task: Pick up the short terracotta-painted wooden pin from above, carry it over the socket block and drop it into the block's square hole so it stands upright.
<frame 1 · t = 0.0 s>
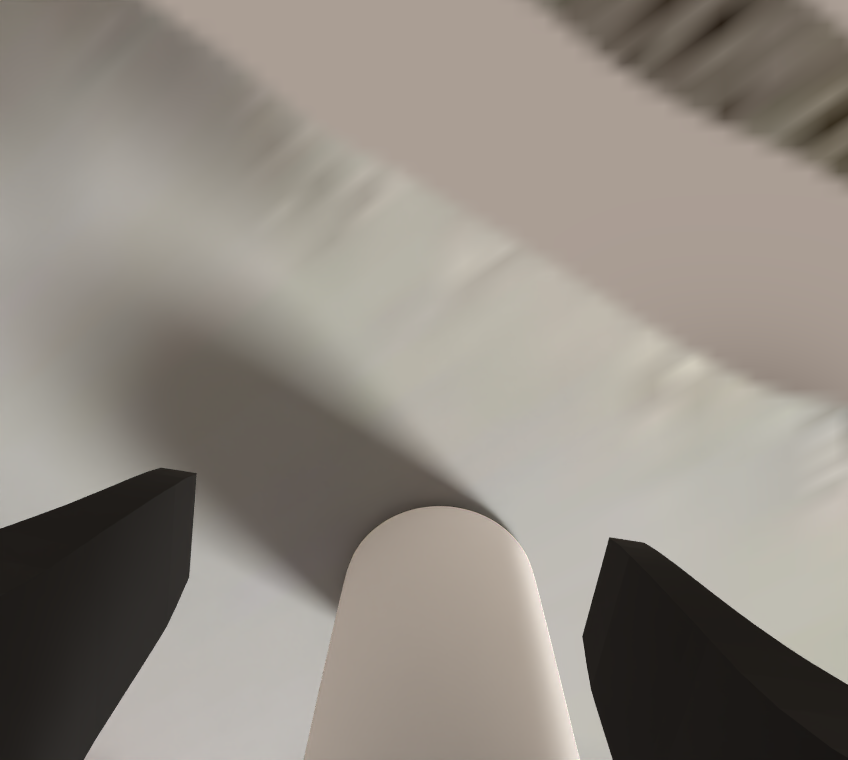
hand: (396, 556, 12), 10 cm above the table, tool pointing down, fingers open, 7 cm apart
can: (439, 581, 24), on the table
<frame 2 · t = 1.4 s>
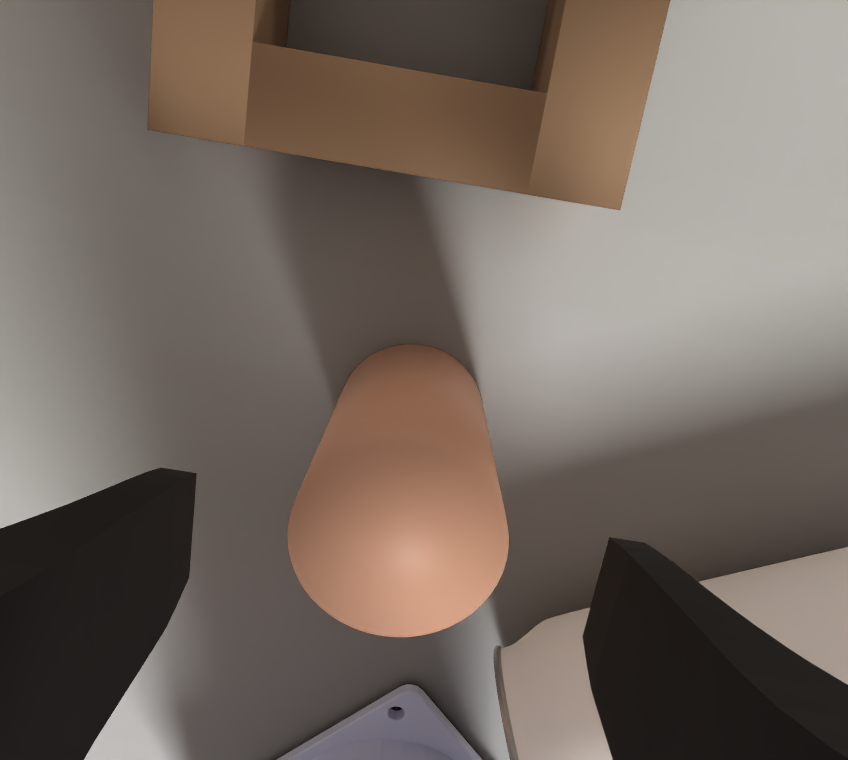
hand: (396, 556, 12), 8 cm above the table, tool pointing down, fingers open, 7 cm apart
pin: (410, 413, 19), on the table
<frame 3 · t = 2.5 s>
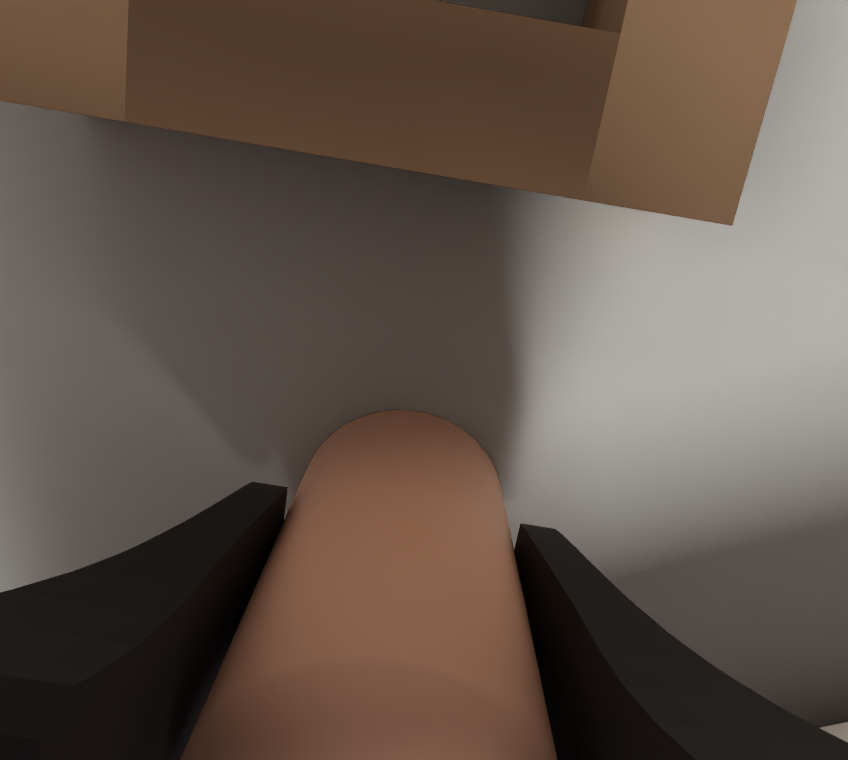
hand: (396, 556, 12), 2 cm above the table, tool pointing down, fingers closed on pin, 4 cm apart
pin: (401, 504, 14), on the table, touching gripper
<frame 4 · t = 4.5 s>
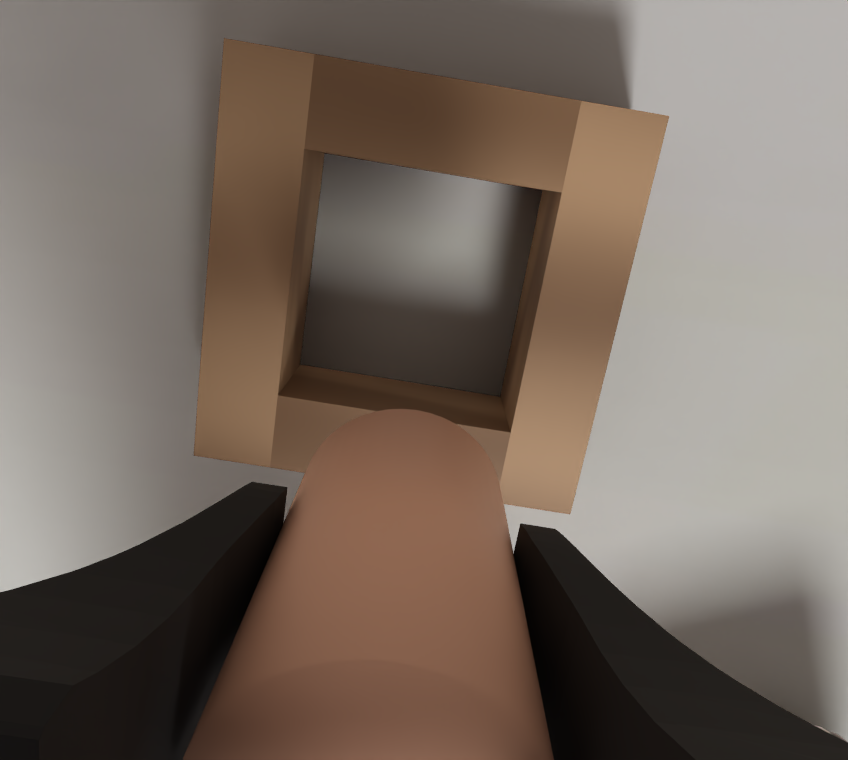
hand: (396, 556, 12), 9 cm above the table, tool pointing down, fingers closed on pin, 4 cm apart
pin: (401, 502, 14), point 7 cm above the table, touching gripper
socket block: (416, 280, 19), on the table
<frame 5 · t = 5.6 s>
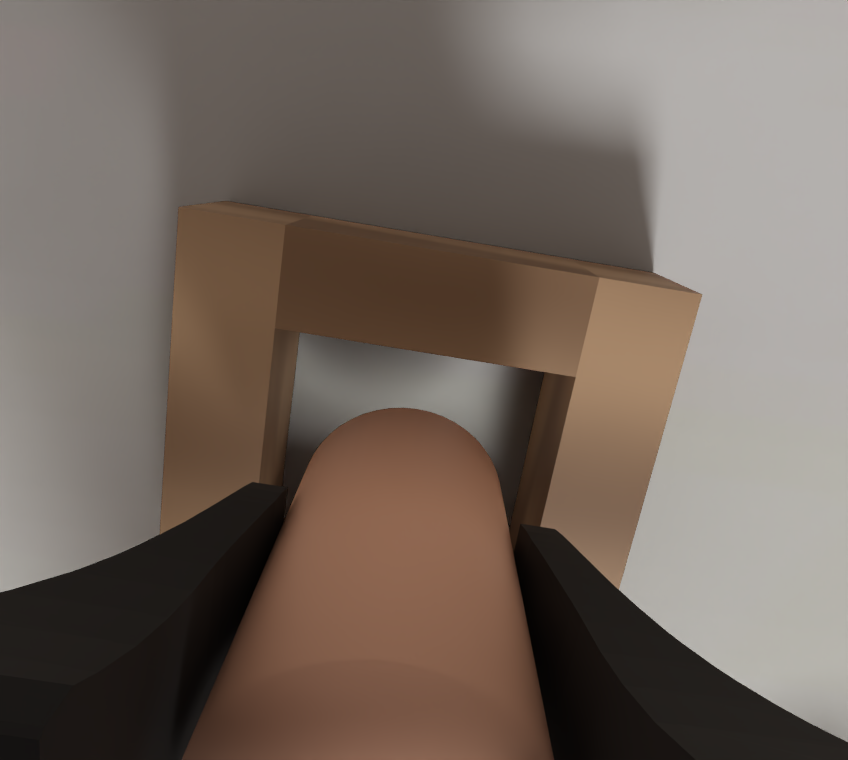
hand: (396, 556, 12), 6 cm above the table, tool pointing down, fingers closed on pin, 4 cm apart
pin: (401, 501, 14), point 4 cm above the table, touching gripper
socket block: (408, 437, 17), on the table
when the fingers open (4 cm above the table, at t = 6.4 s): pin drops 2 cm, resting in socket block.
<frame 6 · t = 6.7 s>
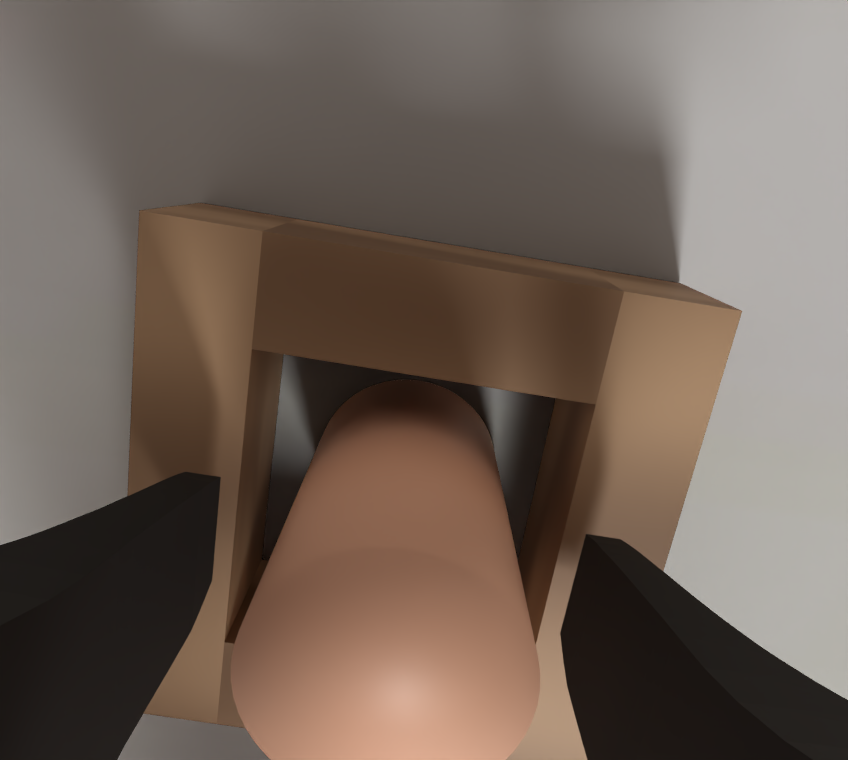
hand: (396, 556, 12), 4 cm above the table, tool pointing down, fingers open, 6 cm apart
pin: (406, 463, 16), resting in socket block
socket block: (405, 464, 16), on the table
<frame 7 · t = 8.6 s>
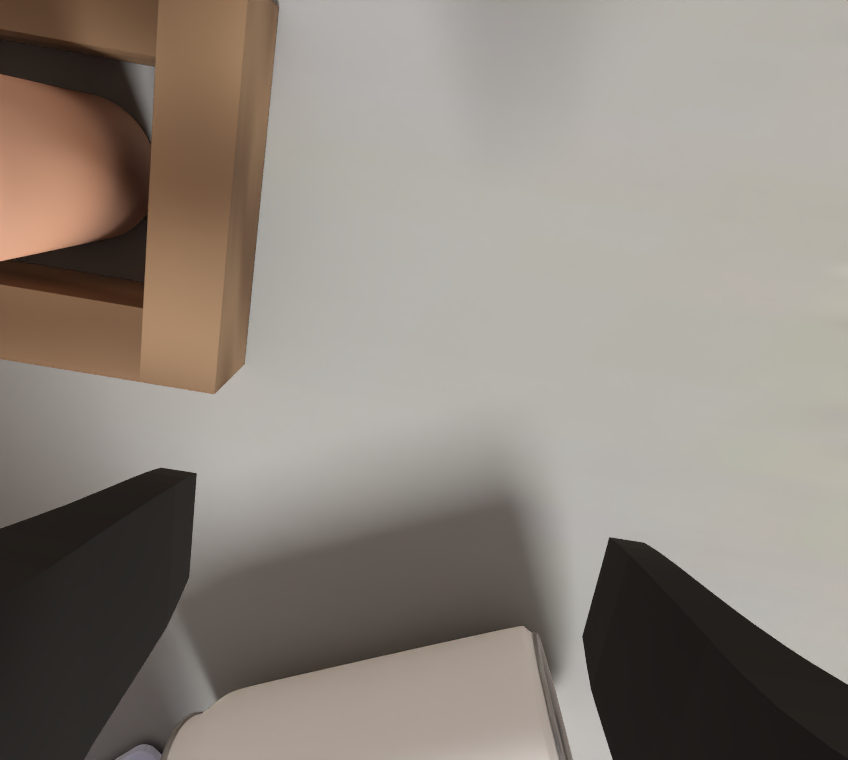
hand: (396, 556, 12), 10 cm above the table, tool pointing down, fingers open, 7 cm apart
pin: (87, 168, 20), resting in socket block
can: (569, 729, 21), point 3 cm above the table
socket block: (86, 168, 20), on the table
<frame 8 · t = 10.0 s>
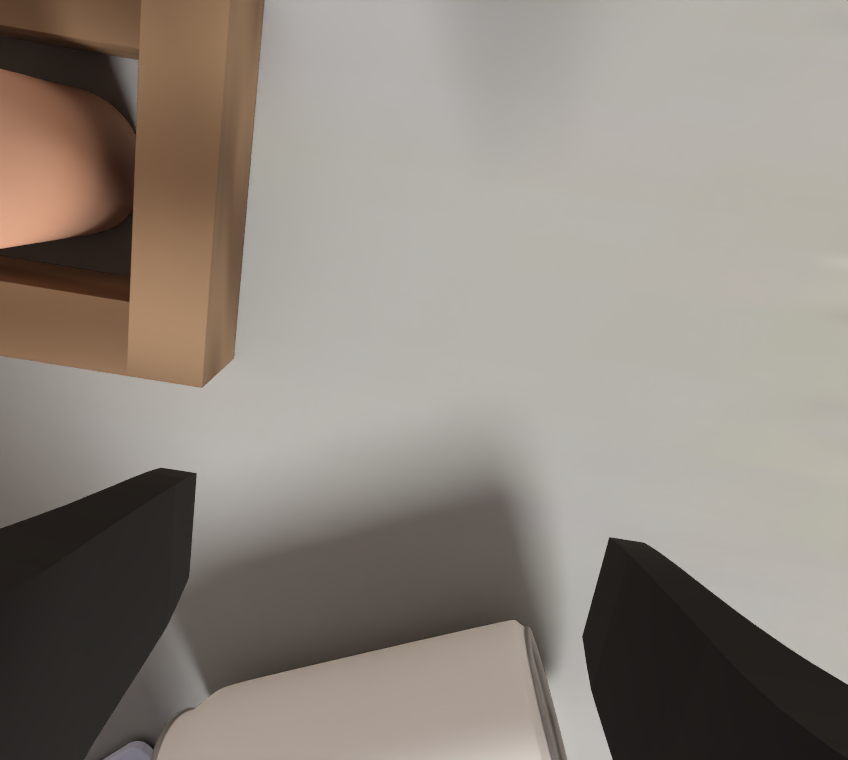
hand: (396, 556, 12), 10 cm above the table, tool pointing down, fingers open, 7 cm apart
pin: (74, 162, 20), resting in socket block
can: (560, 723, 21), point 3 cm above the table
socket block: (73, 162, 20), on the table
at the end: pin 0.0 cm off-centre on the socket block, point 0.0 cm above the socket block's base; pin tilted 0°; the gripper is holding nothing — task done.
